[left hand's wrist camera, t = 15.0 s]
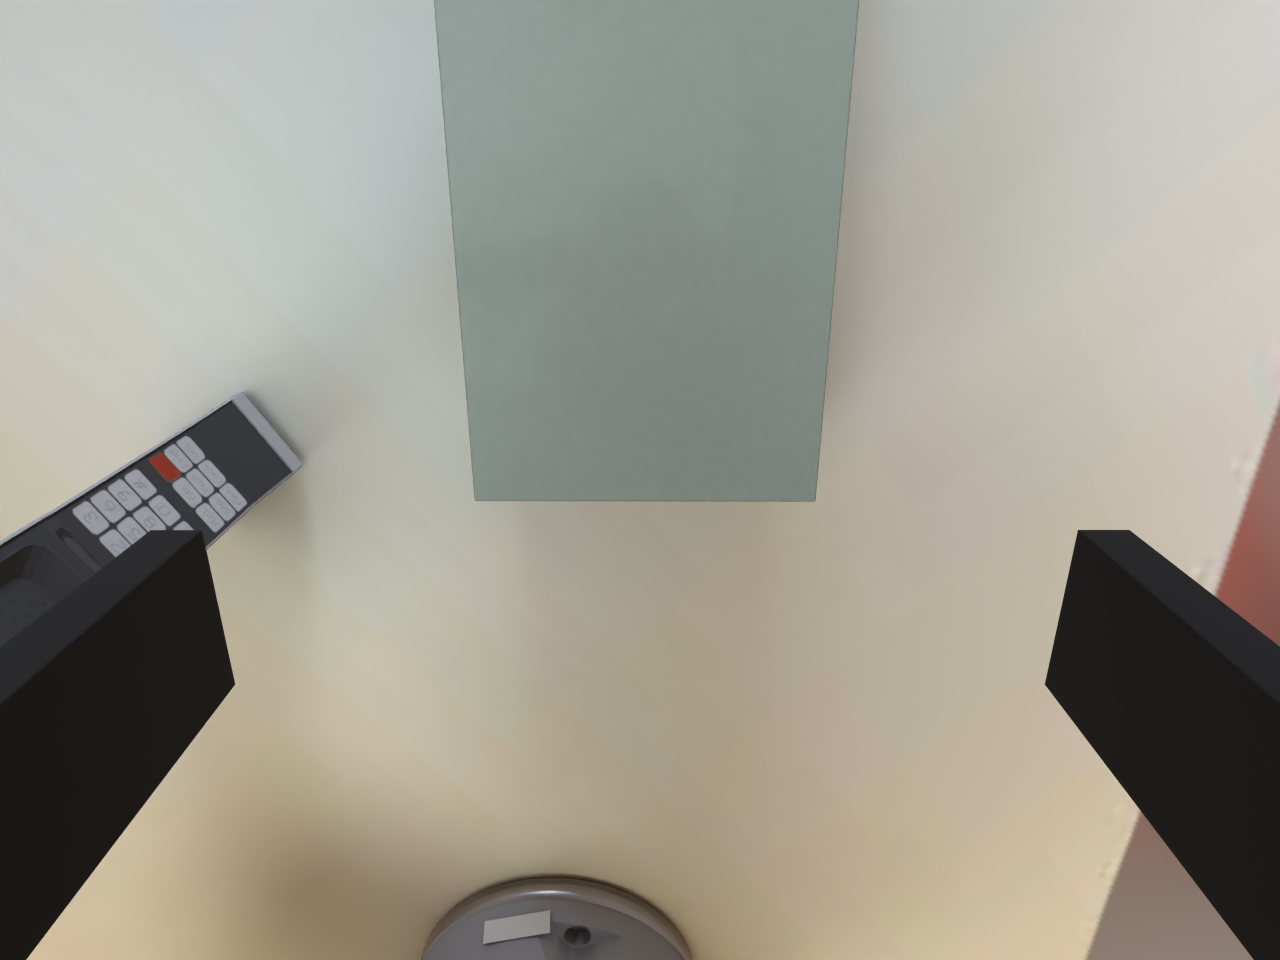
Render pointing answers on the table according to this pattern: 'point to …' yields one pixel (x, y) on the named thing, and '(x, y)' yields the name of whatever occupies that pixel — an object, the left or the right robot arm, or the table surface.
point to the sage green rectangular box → (645, 241)
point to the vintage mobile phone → (144, 507)
